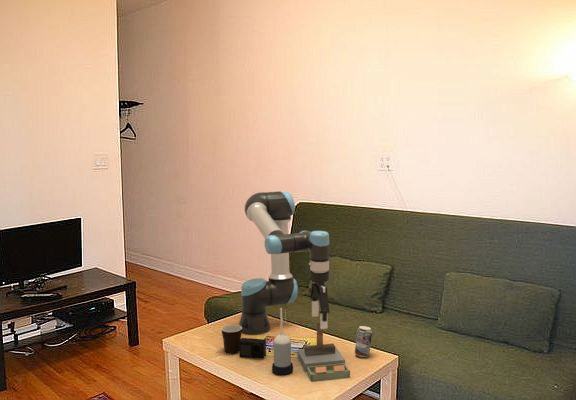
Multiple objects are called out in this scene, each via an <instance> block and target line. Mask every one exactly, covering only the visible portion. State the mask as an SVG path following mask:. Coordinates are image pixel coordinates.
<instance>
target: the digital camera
mask: <svg viewBox="0 0 576 400" xmlns="http://www.w3.org/2000/svg"><path fill="white" fill-rule="evenodd" d="M238 354H239V358H244V359H254V360H264V359H265V357H266V356H267V339H266V338H265V339H262V338H250V337H241V340H240V341H239V353H238Z"/></svg>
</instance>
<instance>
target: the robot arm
mask: <svg viewBox="0 0 576 400" xmlns="http://www.w3.org/2000/svg"><path fill="white" fill-rule="evenodd" d="M295 210H296V205H295V201H294V197H293V196H292V194H291V193H290V192H289V191H282V190H281V191H265V192H261V191H260V192H256V193H254V194H252V195H250V197H248V199H246V202H245V204H244V212H245V216H246V217H247V219H248V220H249V221H251V222H253V223H254V225H255V226H256V228H257V229H258V231H259V232H260V233H261V235H262V236H263V238H264V249H265V252H266V253H267V254H268V255H270V263H271V265H270V266H271V268H270V269H271V273H270V274H269V276H268V280H266V279H265V278H261V277H260V278H251V279H249V280H245V281H244V282H243V283H242V284H241V287H240V289H241V290H240V296H241V299H240V300H241V315H240V319H239V322H238V325H239V326H241V327H242V333H241V334H245V335H253V336H254V335H262V334H265V333H268V332H269V331H270V330H271V322H270V319H269V317H268V312H267V307H270V306H271V307H272V306H273V307H274V306H278V305H279V306H280V305H287V304H291V303H294V302H295V300H296V299H297V296H298V293H299V290H298V289H299V288H298V281H297V280H296V278H293V274H292V273H291V272H290V253H301V252H309V263H308V265H309V269H310V271H309V280H310V281H311V287H310V289H311V290H310V295H309V296H310V297H309V298H311V317H312V318H314V317H319V315H320V317H319V319H320V320H319V321H320V329H323V330H326V329H328V321H329V319H328V317H329V316H328V315H329V313H330V306H329V304H330V303H329V298H328V297H329V296H328V286H326V284H325V283H327V282H328V281H330V272H329V270H330V234H329V232H328V231H325V230H312V231H311V230H310V231H309V230H302V231H300V232H298V233H297V232H295V233H289V222H290V221H291V219H292V218H291V216H293V215H294V214H295V213H296V212H295ZM319 307H320V311H319Z"/></svg>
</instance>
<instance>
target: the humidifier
mask: <svg viewBox="0 0 576 400" xmlns="http://www.w3.org/2000/svg"><path fill="white" fill-rule="evenodd" d="M286 312H287V311H286V309H285V314H284V315H285V324H286V325H287V322H286V318H287V317H286V316H287V314H286ZM279 313H280V314H279V316H280V317H279V318H280V325H279V331H280V333H279V334H278V335H276V336H275V337H274V340H273V342H272V343H273V362H272V364H271V365H272V366H271V372H272V374H273V375H275V376H278V377H286V376H290V375H292V374H293V372H294V363H293V362H292V342H291V338H290V337H289V336H288V335H287V333H284V331H283V330H284V329H283V325H284V319H283V308H282V307H281V308H279Z"/></svg>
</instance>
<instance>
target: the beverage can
mask: <svg viewBox="0 0 576 400" xmlns="http://www.w3.org/2000/svg"><path fill="white" fill-rule="evenodd" d="M372 337H373V331H372V328H371V327H369V326H365V325H359V326H358V328H357V330H356V338H355V347H354V348H355V349H354V353H355V354H356V356H358V357H360V358H367V357H369V355H370V353H371V344H372Z"/></svg>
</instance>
